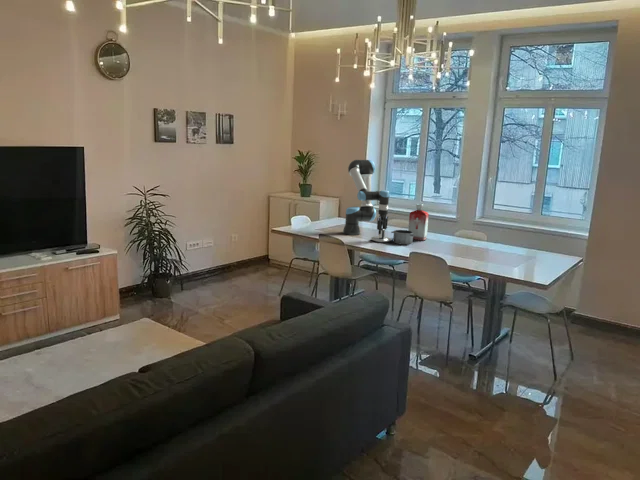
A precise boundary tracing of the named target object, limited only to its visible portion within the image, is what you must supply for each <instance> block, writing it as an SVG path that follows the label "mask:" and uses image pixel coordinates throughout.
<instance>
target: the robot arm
mask: <svg viewBox="0 0 640 480" xmlns="http://www.w3.org/2000/svg"><path fill="white" fill-rule="evenodd" d="M347 168H348V169H347V171H348V172H347V173H348V174H349V176H350V177H351V178H352V180H353V182H354V186H355V188H356V190H357V200H358V201H361V205H360V206H348V207H347V208H346V209H345V221H344V222H345V223H344V224H345V225H344V227H343V230H342V234H344V235H351V236H359V235H360V234H361V230H360V225H359V223H360V222H374V220H375V218H376V217H377V210H376V208H375V207H374V205H373V204H372V201H379V203H378V215H379V216H378V217H377V219H376V220H377V223H376V225H377V226H376V230H378V238H382V230H381V229H382V228H384V237H386V230H387V229H388V221H389V216H387V215H389V211H388V210H389V201H390V200H389V199H390V191H389V190H383V189H381V190H375V191H373V190H372V177H373V174H375V171H376V165H375V163H374V161H373V160H372V159H371V160H370V159H354V160H352V161H351V162H350V163H349V165H348V167H347Z"/></svg>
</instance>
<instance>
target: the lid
mask: <svg viewBox="0 0 640 480" xmlns="http://www.w3.org/2000/svg"><path fill="white" fill-rule="evenodd" d="M381 230H382V238H378V236H372V237H371V238H370V239H371V241H372V242H376V243H377V242H378V243H390V242H392V238H391V237H387V236H385V237H384V228H383V227H382V229H381Z"/></svg>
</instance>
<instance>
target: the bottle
mask: <svg viewBox="0 0 640 480" xmlns="http://www.w3.org/2000/svg"><path fill="white" fill-rule="evenodd" d="M415 207H416V209H415V210H413V211H410V212H409V217H408V229H407V230H408V231H412V232H413V234H414V235H416V236H413V240H414V241H415V240H416V241H421V242H423V241H425V240H427V239H428V238H427V236H428V228H429V226H428V225H429V215H430V214H429V212H427V211H425V210H423V209H424V204H423V203H416V205H415Z"/></svg>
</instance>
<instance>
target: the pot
mask: <svg viewBox="0 0 640 480" xmlns="http://www.w3.org/2000/svg"><path fill="white" fill-rule="evenodd" d="M390 232H391V234H393V237H392V238H393V240H392V242H393V243H394V244H397V245H404V246H405V245H412V244H413V240H414V239H413V236H416V235H414V234H413V232H412V231H408V229H396V230H393V231H390Z"/></svg>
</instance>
